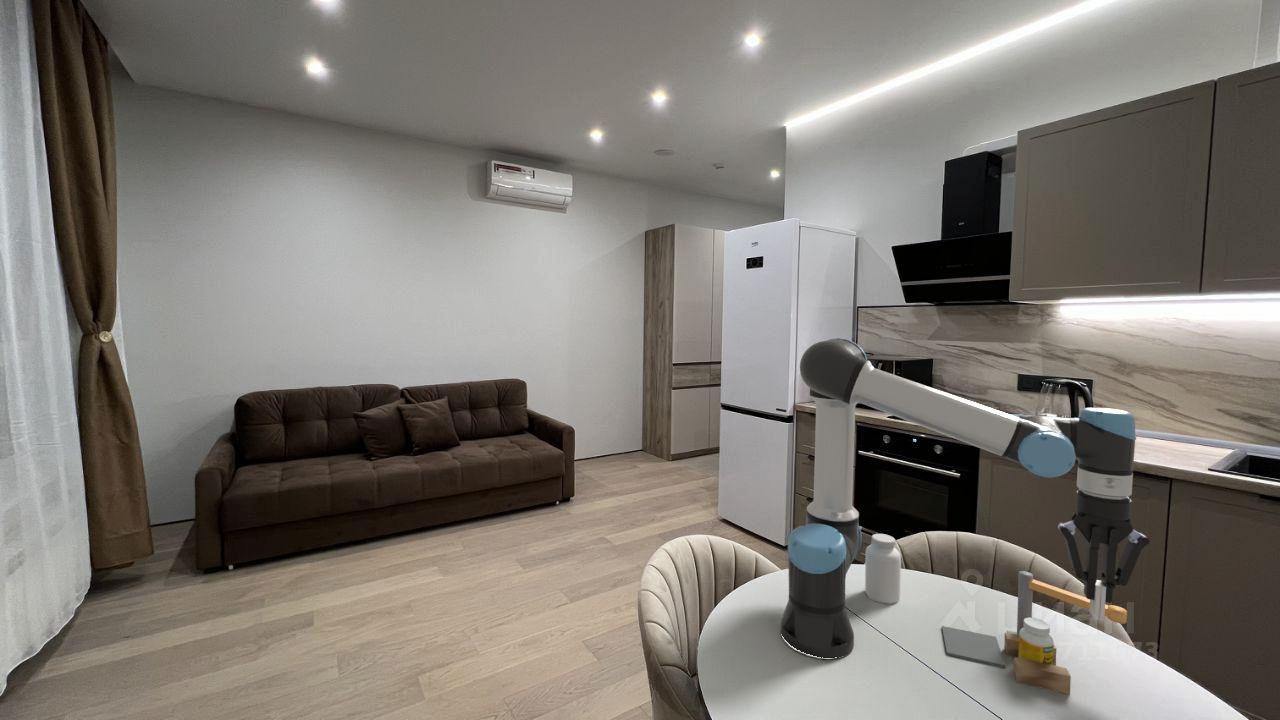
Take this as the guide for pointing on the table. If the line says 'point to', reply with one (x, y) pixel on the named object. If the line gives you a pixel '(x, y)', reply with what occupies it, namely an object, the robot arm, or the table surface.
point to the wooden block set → (1036, 669)
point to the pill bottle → (883, 569)
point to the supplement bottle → (1036, 641)
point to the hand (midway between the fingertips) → (1096, 616)
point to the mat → (972, 646)
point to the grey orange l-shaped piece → (1029, 584)
